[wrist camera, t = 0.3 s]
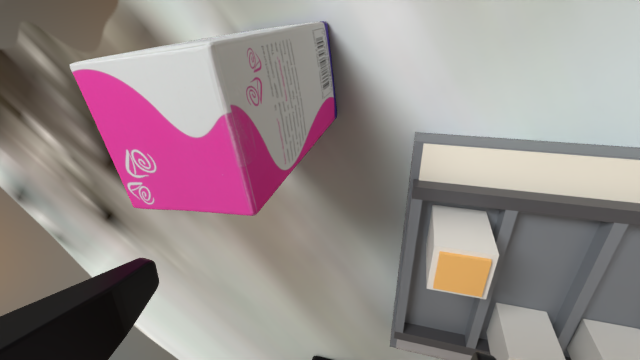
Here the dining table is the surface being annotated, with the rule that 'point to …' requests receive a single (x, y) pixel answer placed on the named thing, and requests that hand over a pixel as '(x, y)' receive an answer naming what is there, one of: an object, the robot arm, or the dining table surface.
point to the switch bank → (523, 238)
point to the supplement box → (212, 115)
